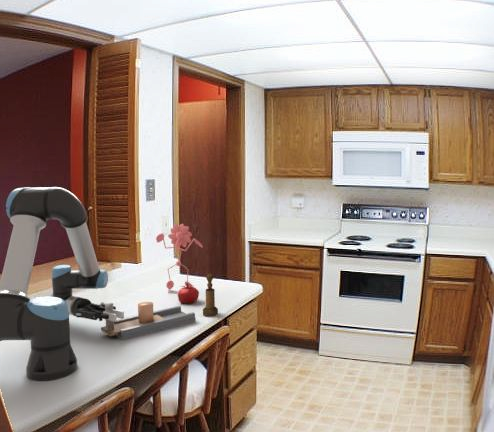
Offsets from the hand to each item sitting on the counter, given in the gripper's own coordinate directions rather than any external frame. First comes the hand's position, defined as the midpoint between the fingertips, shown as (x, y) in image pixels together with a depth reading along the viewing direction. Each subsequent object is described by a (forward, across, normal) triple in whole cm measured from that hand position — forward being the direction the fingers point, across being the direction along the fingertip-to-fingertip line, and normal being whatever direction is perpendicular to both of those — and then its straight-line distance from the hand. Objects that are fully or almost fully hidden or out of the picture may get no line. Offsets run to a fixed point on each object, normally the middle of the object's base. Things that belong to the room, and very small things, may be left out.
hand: (119, 316), depth 176 cm
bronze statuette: (+12, -40, -9) cm, 43 cm away
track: (+1, -17, -9) cm, 19 cm away
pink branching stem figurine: (-24, -64, -9) cm, 69 cm away
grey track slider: (-2, -9, -7) cm, 12 cm away
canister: (0, -14, -6) cm, 15 cm away
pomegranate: (-8, -50, -9) cm, 51 cm away
